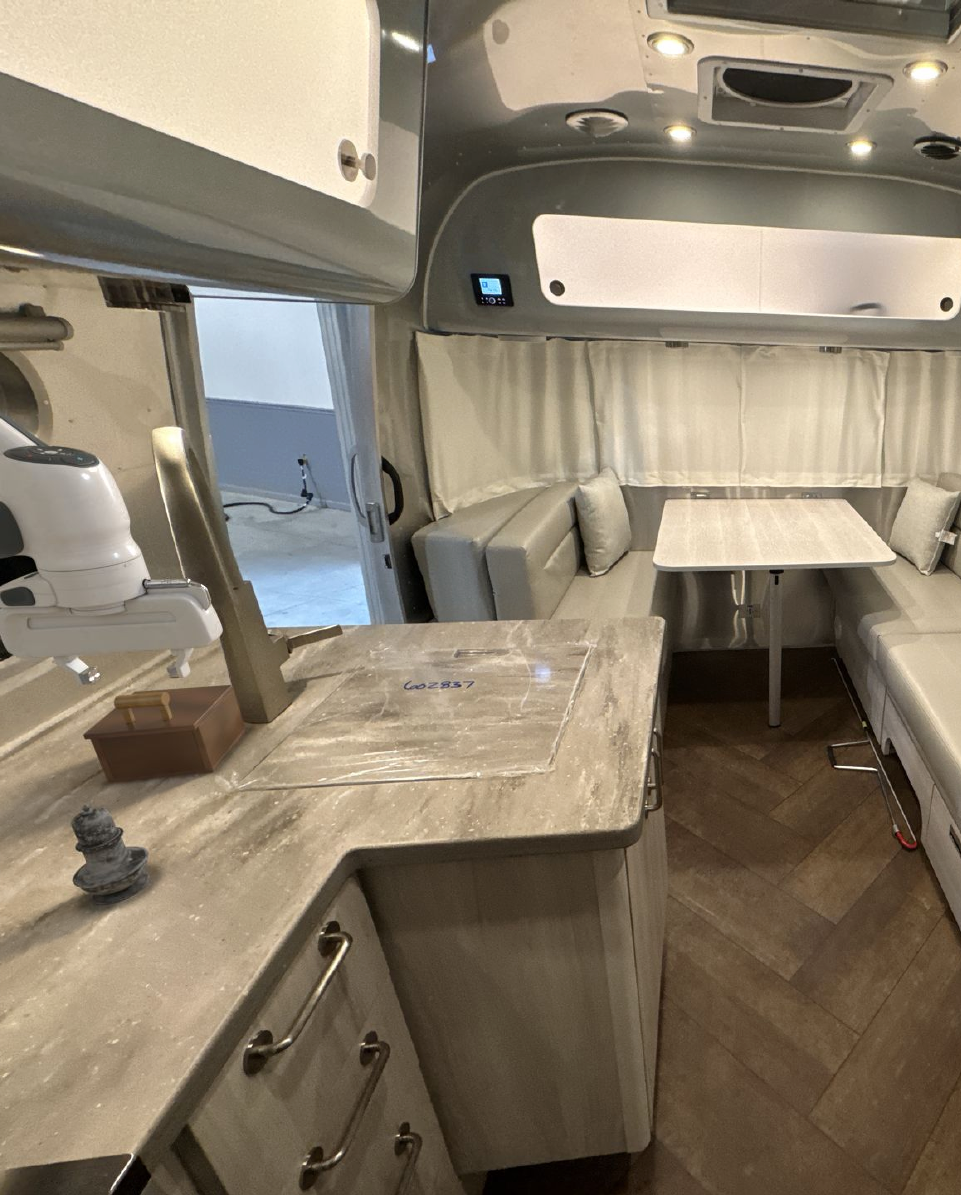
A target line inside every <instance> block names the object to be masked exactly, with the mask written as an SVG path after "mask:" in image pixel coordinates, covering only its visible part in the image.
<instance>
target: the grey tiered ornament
mask: <svg viewBox="0 0 961 1195" xmlns="http://www.w3.org/2000/svg"><path fill="white" fill-rule="evenodd" d="M70 826H71V828H72V831H73V833H74V835H75V837H76V839H77V843H76V844H75V846H74V848H75V851H77V852H79V853H82V855H83V858H84V860H85V863H83V865H82V866H80V868H78V869H77V870H76V871H75V873H74V874H73V876H72V881H71V882H72V883H73V885H74V886H75V887H77V888H80V889H81V890H82V891H84V892H86V893H87V894H90V895H91V898H90V900H91V902H92V903H93V904H95V905H98V906H109V905H113V904H116V903H119V902H123V901H125V900H128V899H130V898H132V897H133V896H135V895H137V894H138V893H140V892H141V891H142V890H144V888H146V886H147V885H148V884H149V882H150V878H151V877H150V875H149V874H148V873H147V872H146V869H147V866H148V859H149V855H150V852H149V850H148V849H147V848H145V847H143V846H136V845H135V846H133V845H132V846H126V844H125V842H124V840H123V837H122V836H123V835H124V829H123V828H122V827H120V826H119V827H118V826H117V825H116V823H115V821H114V818H113V816H112V814H111V812H110V810H109V809H108V808H105V807H102V806H99V807H92V806H91V805H88V804H84V805H83V806H82V807H81V812H79V813H77V814H76V815H75V816H74V817H73V818H72V820H71V822H70Z"/></svg>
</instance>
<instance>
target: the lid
mask: <svg viewBox="0 0 961 1195" xmlns="http://www.w3.org/2000/svg"><path fill="white" fill-rule="evenodd" d="M232 690H234V686H233V684H225V685H209V686H193V687H181V688H168V689H165V688H164V689H153V690H141V691H138V690H137V691H133V692H132V693H130V694H121V695H117V696H115V697H114V701H113V706H114V708H113V709H112V710H111V711H109V712H108V713H107V714H106V715H104V717H102V718H101V719H100V720H99V721H97V722H96V723H95V724H93V726H91V727H90V728H89V729H88V730H87V731H85V732H84V733H83V734H82V736H83V738H84V740H85V741H86V740H91V739H98V738H109V737H121V736H132V735H143V734H154V733H166V732H177V731H188V730H196V728H197V727H198V726H199V725H200V724H201V723H202V722H203V721H204V720H205V719H206V718H207V717H208V716H209V715H210V714H211V712H212V711H213V710H214V709H215V708H216V707H217V706H218V705H219V704H220V703H221V702H222V701H223V700H224V699H225V698H226V697H227V695H228V694H229V693H230V692H231V691H232Z"/></svg>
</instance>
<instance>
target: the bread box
mask: <svg viewBox="0 0 961 1195" xmlns="http://www.w3.org/2000/svg"><path fill="white" fill-rule="evenodd" d="M235 692H236V691H235V689H233V690H232V691H231V692H230V693H229V694H228V695H227V697H226V698H225V699H224V700H223V701H222V702H221V703H220V704H219V705H218V706H217V707H216V708H215V709H214V710H213V711H212V712H211V714H210V715H209V716H208V717H207V718H206V719H205V720H204V721H203V722H202V723H201V724H200V725H199V726H198V727H197V728H196V730H188V731H177V732H166V733H154V734H143V735H132V736H121V737H109V738H98V739H90V742H91V745H92V746H93V749H94V751H95V754H96V756H97V759H98V761H99V764H100V766H101V768H102V771H103V773H104V776H105V778H106V780H107V784H112V783H123V782H132V781H142V780H151V779H152V780H153V779H159V778H169V777H179V776H190V775H199V774H208V773H214V772H215V771H216V770H217V768H218V767H219V766H220V765H221V763H222V762H223V761H224V760H225V759H226V757H228V755H229V754H230V752H231V751H232V750H233V749H234V747H235V746H237V744H238V743H239V742H240V740H241V739H242V738H243V736H244V735H245V734H246V733H247V729H246V727H245V726H246V725H245V723H244V718H243V716H242V712H241V709H240V706H239V703H238V699H237V696H236V693H235Z"/></svg>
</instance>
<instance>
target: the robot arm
mask: <svg viewBox="0 0 961 1195" xmlns="http://www.w3.org/2000/svg"><path fill="white" fill-rule="evenodd" d="M14 556H26V557H29V558H32V559H33V561H34V563H35V567H36V569H37V571H34V572H31V573H28V574H26V575H23V576H20V577H18V578H16V579H13V580H11V581H9V582H7V583H4V584H2V585H1V586H0V638H1V641H2V643H3V646H4V648H5V649H6V651H7V652H8V653H9V654H11V655H12V656H14V657H16V658H18V659H21V660H27V659H29V660H30V659H41V658H43V659H44V658H53V660H54V663H55V664H56V665H57V666H58V667H60V668H61V669H63V670H64V671H66V672H67V673H69V674H71V675H73V678H74V679H75V682H76V684H77V685H78V686H89V685H96V684H97V682H100V681H101V679H102V676H101V674H100V673H99V672H100V671H99V668H98V667H97V666H90V667H89V665H87V664H86V663H85V662H84V661H83V660H81V659H80V658H79V657H80V656H90V655H92V656H93V655H107V654H108V655H109V654H123V653H124V654H125V653H136V652H137V653H138V652H139V653H140V652H154V651H169V650H170V653H171V656H173V657H177V658H176V661H173V662H172V663H171V664H170V665H168V666H167V667H166V671H167V673H168V674H169V675H168V677H169V678H170V679H182V678H183V679H184V678H185V679H186V678H187V677H188V676H189V675H190V674H191V668H190V665H189V662H188V661H190V658H191V656H192V654H193V652H194V649H202V648H207V647H210V646H211V645H212V644H213V643H215V642H216V641H217V640H218V639H219V638H220V637H221V635H222V634H223V631H224V628H223V625H222V623H221V621H220V620H221V619H220V618H219V616H218V614H217V612H216V610H215V608H214V606H213V604H212V598H211V596H210V592H209V590H208V588H207V587H206V586H205V585H203V584H202V583H199V582H197V581H194V580H192V579H191V578H186V577H185V578H184V577H180V578H174V579H173V578H171V579H170V578H169V579H168V578H151V575H150V572H149V569H148V567H147V564H146V561H145V558H144V556H143V553H142V550H141V548H140V545H138V544H137V542H136V541H135V540H134V538H133V536H132V533H131V517H130V513H129V511H128V508H127V505H126V503H125V500H124V498H123V494H122V492H121V490H120V489H119V486H118V485H117V482H116V480H115V478H114V476H113V474H112V473H111V471H110V470H109V469H108V467H107V466H106V465H105V463H104V462H103V461H102V460H101V459H100V458H99V457H98V456H96V455H95V454H93V453H91V452H88V451H85V450H82V449H80V448H75V447H68V446H61V445H60V446H59V445H49V444H47V443H46V442H44V441H42V440H41V439H40V438H38V437H37V436H36V435H34V434H32V433H31V432H30V431H29V430H28V429H26V428H24V427H23V426H21V425H20V424H19V423H18V422H16V421H15V420H13V418H11V417H9V415H6V414H5V413H4V412H2V410H0V559H5V558H10V557H14Z"/></svg>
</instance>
